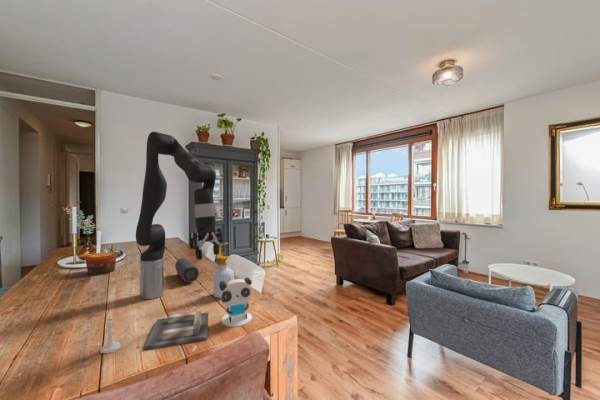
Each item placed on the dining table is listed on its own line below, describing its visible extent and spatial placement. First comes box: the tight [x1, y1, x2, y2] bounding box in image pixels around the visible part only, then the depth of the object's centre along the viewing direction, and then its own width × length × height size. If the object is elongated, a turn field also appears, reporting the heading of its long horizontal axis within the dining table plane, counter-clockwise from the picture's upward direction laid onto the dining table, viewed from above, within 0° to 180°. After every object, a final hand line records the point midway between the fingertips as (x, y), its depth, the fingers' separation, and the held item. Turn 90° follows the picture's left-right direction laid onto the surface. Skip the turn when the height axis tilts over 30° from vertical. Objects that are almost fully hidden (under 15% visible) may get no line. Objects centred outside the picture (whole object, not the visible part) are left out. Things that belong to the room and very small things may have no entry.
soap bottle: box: [213, 242, 235, 299], centre depth 121 cm, size 9×9×25 cm
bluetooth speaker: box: [174, 257, 200, 283], centre depth 144 cm, size 23×9×10 cm, turn 34°
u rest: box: [144, 310, 209, 351], centre depth 90 cm, size 18×18×3 cm
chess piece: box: [99, 316, 121, 354], centre depth 79 cm, size 5×5×10 cm
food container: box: [83, 251, 118, 276], centre depth 156 cm, size 16×16×11 cm
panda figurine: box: [219, 277, 253, 328], centre depth 98 cm, size 12×11×15 cm
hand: (208, 256), depth 101 cm, fingers open, 8 cm apart
